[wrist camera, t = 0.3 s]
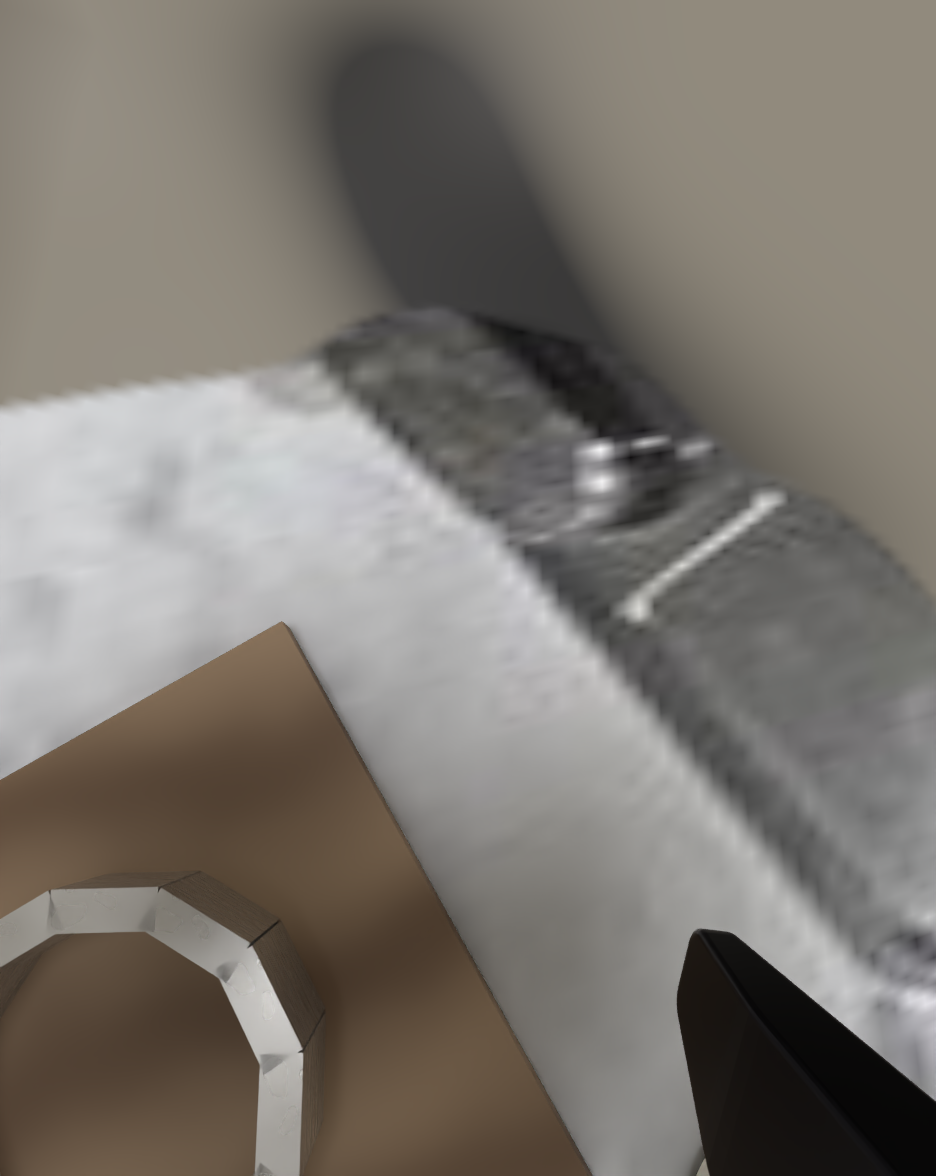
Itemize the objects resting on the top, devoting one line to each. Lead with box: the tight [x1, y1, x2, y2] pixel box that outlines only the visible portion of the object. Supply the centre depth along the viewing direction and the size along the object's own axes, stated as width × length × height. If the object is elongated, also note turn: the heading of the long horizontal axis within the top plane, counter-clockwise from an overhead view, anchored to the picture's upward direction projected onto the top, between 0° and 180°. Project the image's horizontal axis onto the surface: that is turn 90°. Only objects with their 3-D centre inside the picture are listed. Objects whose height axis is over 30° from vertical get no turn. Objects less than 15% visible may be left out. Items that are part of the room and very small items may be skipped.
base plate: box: [0, 621, 592, 1176], centre depth 19 cm, size 18×18×1 cm
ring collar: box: [0, 871, 326, 1176], centre depth 18 cm, size 10×10×3 cm
